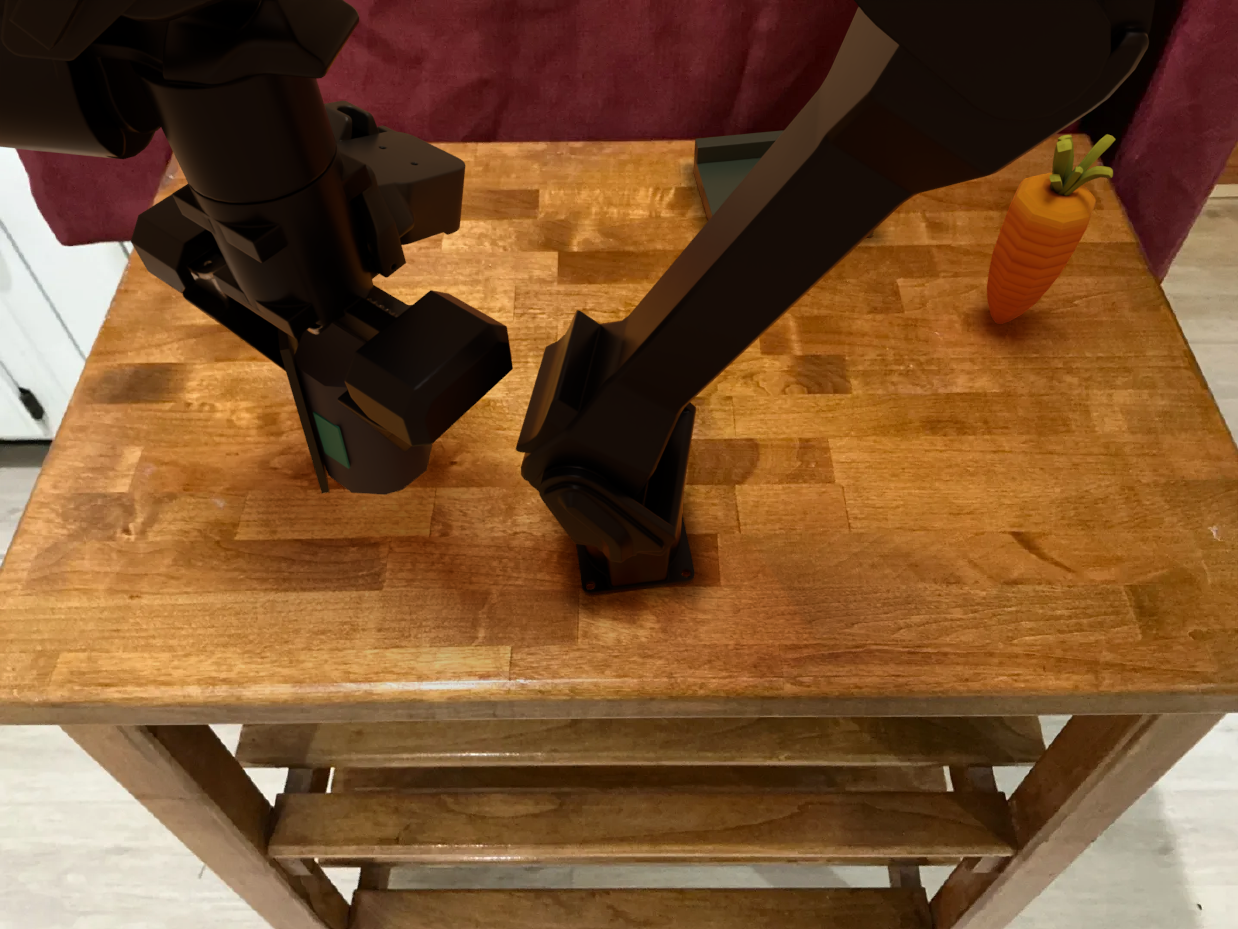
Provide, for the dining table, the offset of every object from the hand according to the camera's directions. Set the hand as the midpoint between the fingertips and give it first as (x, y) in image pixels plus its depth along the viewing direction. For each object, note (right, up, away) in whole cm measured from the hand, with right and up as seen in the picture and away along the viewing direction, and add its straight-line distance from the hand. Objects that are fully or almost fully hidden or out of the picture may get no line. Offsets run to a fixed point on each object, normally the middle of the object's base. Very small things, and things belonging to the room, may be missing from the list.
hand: (361, 412), depth 47 cm
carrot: (+40, +7, +16) cm, 44 cm away
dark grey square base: (+26, +18, +24) cm, 40 cm away
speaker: (0, -2, +2) cm, 3 cm away
